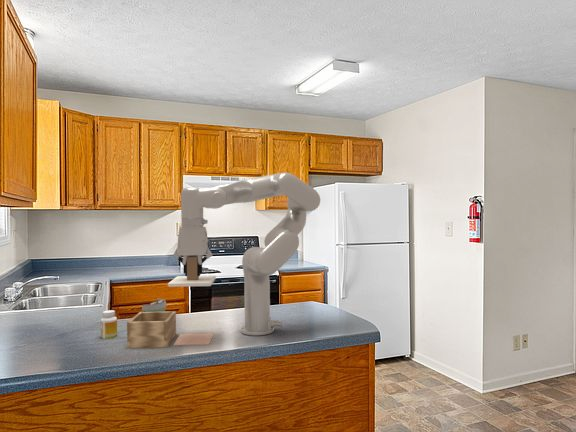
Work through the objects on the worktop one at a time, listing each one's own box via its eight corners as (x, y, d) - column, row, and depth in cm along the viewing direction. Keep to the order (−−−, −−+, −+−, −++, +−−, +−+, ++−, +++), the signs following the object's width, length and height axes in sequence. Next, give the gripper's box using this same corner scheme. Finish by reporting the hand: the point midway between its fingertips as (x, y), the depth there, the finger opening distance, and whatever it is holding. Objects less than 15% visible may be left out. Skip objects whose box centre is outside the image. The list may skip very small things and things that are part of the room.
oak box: (176, 335, 157) (175, 311, 157) (167, 348, 143) (166, 321, 143) (139, 336, 157) (139, 312, 157) (127, 349, 143) (126, 322, 143)
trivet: (213, 335, 158) (213, 333, 158) (209, 345, 146) (209, 344, 146) (180, 335, 158) (180, 334, 158) (173, 346, 146) (173, 344, 146)
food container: (157, 332, 162) (156, 305, 162) (142, 331, 164) (141, 305, 163) (172, 323, 174) (172, 298, 174) (158, 322, 176) (158, 298, 175)
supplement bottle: (120, 336, 157) (120, 310, 157) (110, 341, 152) (109, 313, 152) (108, 335, 159) (108, 309, 158) (97, 339, 154) (97, 312, 153)
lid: (215, 278, 159) (215, 254, 159) (210, 286, 144) (210, 259, 144) (177, 278, 158) (176, 254, 158) (167, 286, 143) (167, 259, 143)
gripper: (217, 222, 155) (218, 273, 155) (170, 222, 154) (171, 274, 155) (215, 223, 147) (215, 277, 148) (165, 223, 147) (166, 277, 147)
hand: (192, 275), depth 151 cm, fingers closed on lid, 3 cm apart
